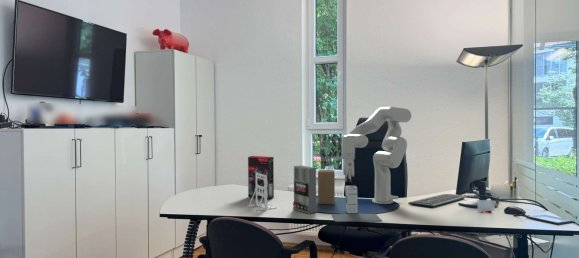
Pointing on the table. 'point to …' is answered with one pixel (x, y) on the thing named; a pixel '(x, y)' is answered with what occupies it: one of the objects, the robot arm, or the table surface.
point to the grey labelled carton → (305, 189)
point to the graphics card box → (262, 167)
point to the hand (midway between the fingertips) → (348, 188)
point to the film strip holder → (261, 195)
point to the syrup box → (351, 199)
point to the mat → (355, 217)
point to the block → (326, 187)
